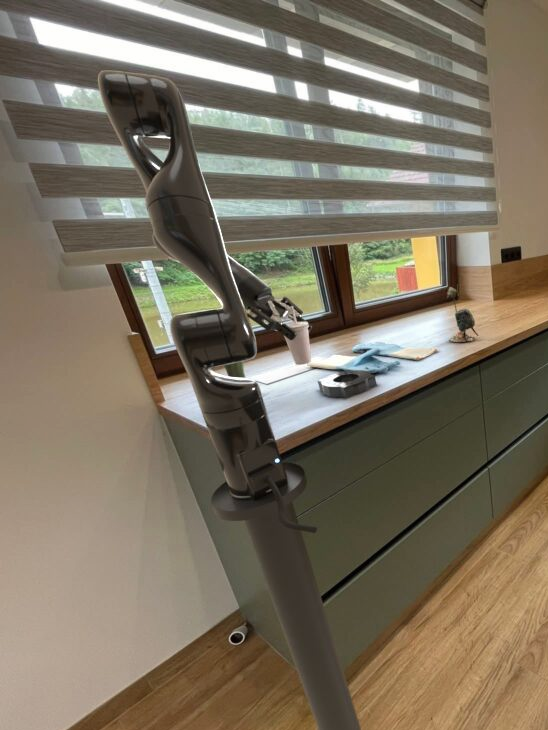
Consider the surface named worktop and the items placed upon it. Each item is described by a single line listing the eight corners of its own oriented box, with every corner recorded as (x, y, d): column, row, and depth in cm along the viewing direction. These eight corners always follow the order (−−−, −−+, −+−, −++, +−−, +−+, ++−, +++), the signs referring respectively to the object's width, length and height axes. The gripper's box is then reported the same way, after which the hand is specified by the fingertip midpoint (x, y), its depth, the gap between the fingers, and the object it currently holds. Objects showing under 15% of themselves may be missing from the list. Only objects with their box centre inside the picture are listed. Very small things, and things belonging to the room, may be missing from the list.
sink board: (382, 383, 120) (380, 374, 119) (342, 400, 110) (340, 389, 109) (353, 377, 127) (351, 367, 126) (314, 392, 117) (311, 382, 116)
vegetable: (238, 408, 109) (214, 332, 102) (236, 403, 112) (212, 329, 105) (258, 403, 111) (235, 328, 104) (255, 398, 115) (232, 326, 107)
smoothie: (322, 360, 107) (309, 304, 102) (299, 367, 102) (285, 310, 97) (306, 357, 111) (293, 303, 105) (283, 364, 106) (268, 308, 100)
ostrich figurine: (469, 345, 151) (463, 288, 144) (445, 342, 157) (439, 287, 150) (483, 339, 158) (478, 284, 150) (459, 336, 164) (454, 283, 156)
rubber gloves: (368, 344, 161) (365, 327, 159) (438, 351, 147) (436, 333, 144) (307, 367, 138) (302, 348, 136) (383, 378, 124) (379, 357, 122)
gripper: (229, 279, 93) (293, 330, 96) (269, 271, 106) (325, 316, 109) (214, 304, 95) (277, 353, 98) (255, 293, 108) (310, 336, 112)
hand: (302, 333), depth 104 cm, fingers closed on smoothie, 6 cm apart
